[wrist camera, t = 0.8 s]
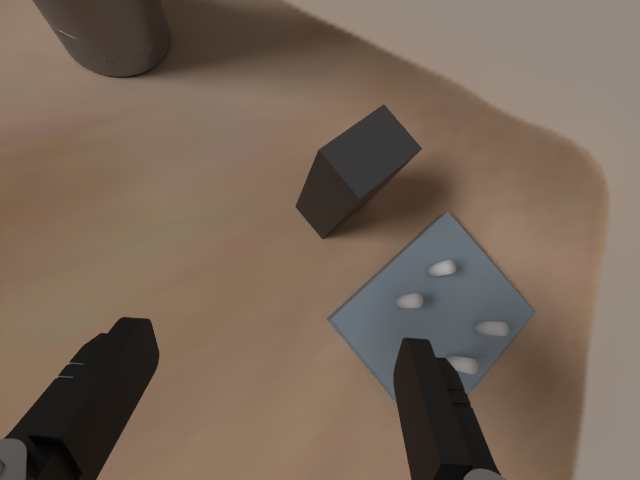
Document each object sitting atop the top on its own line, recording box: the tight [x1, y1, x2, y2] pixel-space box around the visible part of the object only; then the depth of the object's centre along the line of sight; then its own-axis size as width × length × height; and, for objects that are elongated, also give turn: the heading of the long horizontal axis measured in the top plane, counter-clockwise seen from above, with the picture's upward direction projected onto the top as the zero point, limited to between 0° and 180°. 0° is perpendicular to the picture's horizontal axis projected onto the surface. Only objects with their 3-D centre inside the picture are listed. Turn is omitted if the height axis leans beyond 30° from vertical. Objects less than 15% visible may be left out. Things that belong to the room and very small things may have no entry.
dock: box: [327, 211, 535, 403], centre depth 29 cm, size 13×16×4 cm
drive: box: [296, 105, 422, 239], centre depth 26 cm, size 4×6×11 cm, turn 131°
